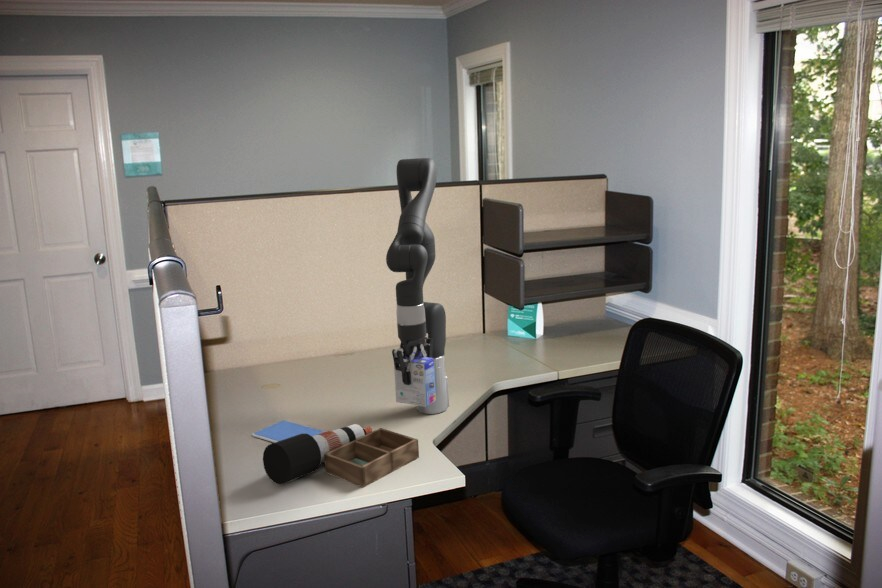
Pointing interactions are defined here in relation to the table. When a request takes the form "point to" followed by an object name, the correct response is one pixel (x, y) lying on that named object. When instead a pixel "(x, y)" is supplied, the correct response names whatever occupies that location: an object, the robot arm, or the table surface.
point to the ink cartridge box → (417, 383)
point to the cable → (305, 452)
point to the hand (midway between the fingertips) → (415, 380)
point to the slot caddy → (371, 456)
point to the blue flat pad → (284, 431)
